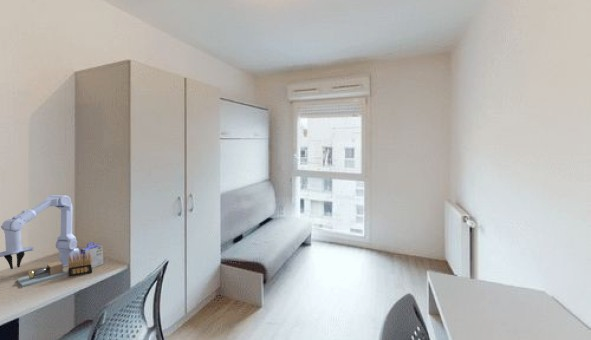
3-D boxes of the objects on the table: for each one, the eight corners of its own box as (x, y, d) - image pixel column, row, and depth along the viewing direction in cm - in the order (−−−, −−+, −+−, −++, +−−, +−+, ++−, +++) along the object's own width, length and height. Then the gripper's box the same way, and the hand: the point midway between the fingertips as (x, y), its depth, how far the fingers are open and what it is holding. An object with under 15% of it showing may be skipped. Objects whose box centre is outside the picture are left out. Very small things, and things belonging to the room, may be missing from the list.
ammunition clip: (68, 277, 152) (67, 256, 152) (68, 275, 154) (68, 255, 153) (91, 272, 158) (91, 252, 157) (92, 271, 160) (91, 251, 159)
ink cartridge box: (98, 262, 172) (97, 240, 171) (103, 264, 170) (103, 241, 169) (80, 268, 163) (79, 245, 162) (86, 270, 161) (85, 246, 160)
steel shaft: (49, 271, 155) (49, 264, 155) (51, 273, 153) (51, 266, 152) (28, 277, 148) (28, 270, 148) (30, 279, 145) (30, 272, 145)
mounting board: (60, 269, 162) (59, 259, 161) (66, 274, 155) (66, 264, 154) (17, 280, 147) (16, 269, 147) (22, 287, 140) (22, 276, 140)
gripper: (-6, 247, 133) (-5, 274, 134) (34, 240, 144) (35, 265, 145) (-9, 244, 137) (-7, 270, 138) (31, 237, 149) (32, 261, 150)
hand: (15, 267), depth 142 cm, fingers closed
